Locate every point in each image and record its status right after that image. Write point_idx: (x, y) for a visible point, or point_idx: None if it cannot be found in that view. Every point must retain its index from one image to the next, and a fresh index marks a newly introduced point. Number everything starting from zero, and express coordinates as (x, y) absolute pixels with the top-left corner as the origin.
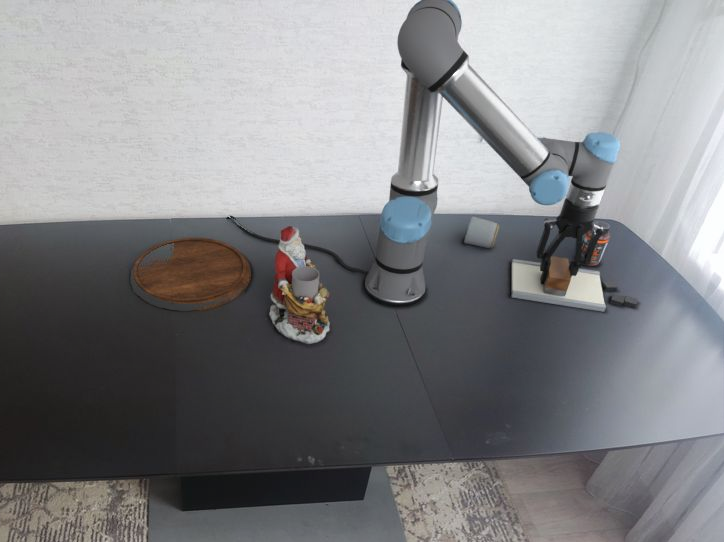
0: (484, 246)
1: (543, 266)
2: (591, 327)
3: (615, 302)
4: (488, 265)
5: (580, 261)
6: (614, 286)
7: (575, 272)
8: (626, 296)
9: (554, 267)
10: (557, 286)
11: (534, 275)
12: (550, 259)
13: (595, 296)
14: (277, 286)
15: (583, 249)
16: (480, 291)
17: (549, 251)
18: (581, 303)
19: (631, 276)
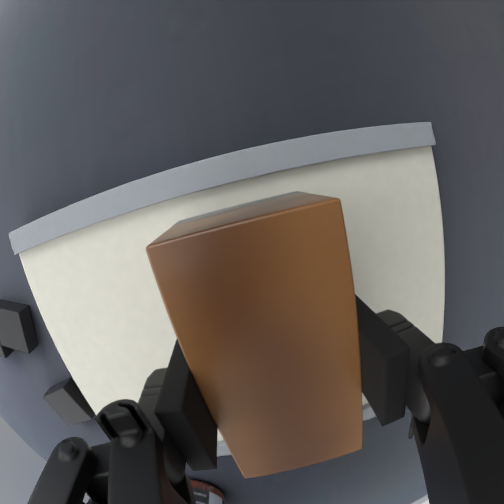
0: None
1: (398, 331)
2: (48, 84)
3: (10, 306)
4: (489, 314)
5: (115, 460)
6: (49, 399)
7: (155, 385)
8: (1, 352)
9: (319, 367)
10: (238, 210)
11: None
12: (384, 403)
13: (64, 309)
14: None
15: None
16: (495, 130)
17: (496, 416)
18: (88, 198)
19: None
